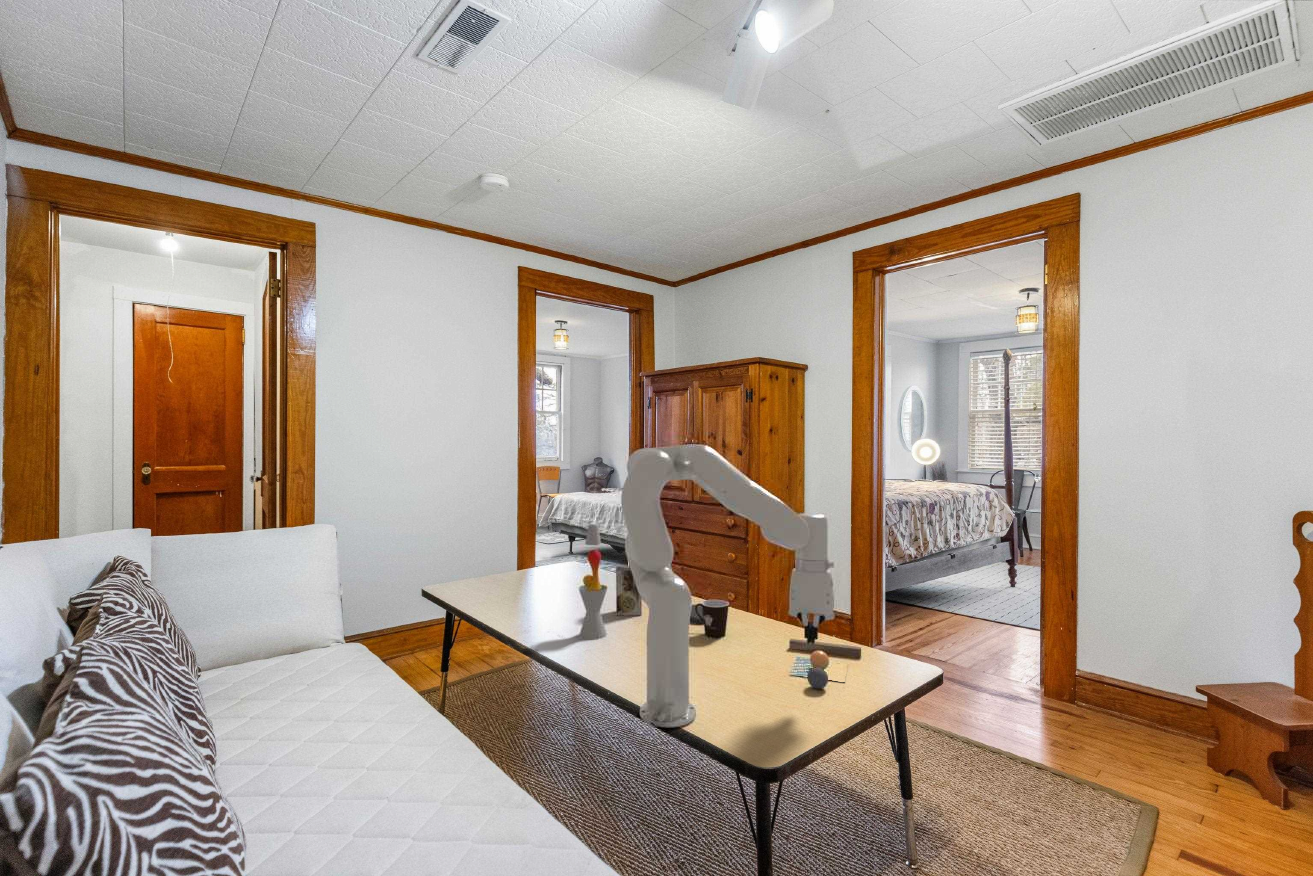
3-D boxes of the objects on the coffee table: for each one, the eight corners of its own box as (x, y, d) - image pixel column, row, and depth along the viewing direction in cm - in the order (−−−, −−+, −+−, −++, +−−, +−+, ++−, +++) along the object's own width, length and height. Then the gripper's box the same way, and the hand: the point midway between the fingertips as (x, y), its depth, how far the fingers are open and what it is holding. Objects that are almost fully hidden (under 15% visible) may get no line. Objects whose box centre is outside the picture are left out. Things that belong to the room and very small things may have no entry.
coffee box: (641, 610, 220) (641, 565, 220) (641, 615, 214) (641, 569, 214) (616, 610, 220) (616, 565, 220) (615, 615, 214) (615, 569, 214)
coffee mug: (733, 637, 191) (733, 605, 191) (709, 640, 188) (709, 608, 188) (716, 626, 202) (716, 596, 201) (692, 629, 198) (692, 598, 198)
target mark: (844, 683, 155) (844, 682, 155) (789, 675, 160) (789, 674, 160) (848, 664, 168) (848, 663, 168) (796, 657, 173) (796, 656, 173)
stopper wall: (860, 658, 173) (860, 649, 173) (789, 649, 180) (789, 640, 180) (861, 655, 175) (861, 647, 175) (790, 647, 182) (790, 638, 182)
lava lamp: (609, 630, 197) (609, 522, 197) (604, 640, 188) (604, 526, 188) (582, 630, 198) (582, 522, 198) (575, 639, 189) (575, 526, 189)
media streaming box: (670, 617, 214) (670, 608, 214) (700, 609, 223) (700, 601, 223) (699, 627, 202) (699, 618, 202) (730, 618, 212) (730, 610, 212)
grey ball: (831, 669, 153) (827, 689, 153) (811, 663, 156) (807, 683, 155) (827, 672, 149) (824, 693, 148) (807, 666, 151) (803, 686, 151)
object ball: (829, 649, 166) (829, 667, 166) (810, 647, 168) (810, 665, 167) (828, 655, 161) (828, 674, 161) (808, 652, 163) (808, 671, 163)
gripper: (844, 564, 147) (844, 640, 147) (782, 560, 153) (782, 633, 153) (842, 571, 140) (842, 650, 140) (777, 566, 146) (777, 643, 146)
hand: (811, 641), depth 147 cm, fingers closed
